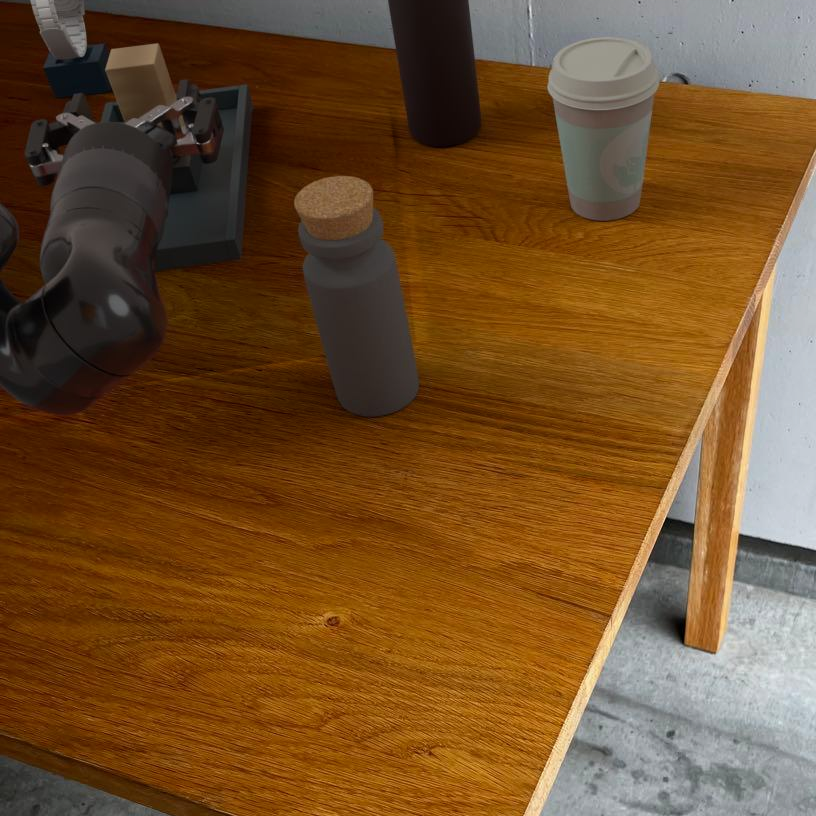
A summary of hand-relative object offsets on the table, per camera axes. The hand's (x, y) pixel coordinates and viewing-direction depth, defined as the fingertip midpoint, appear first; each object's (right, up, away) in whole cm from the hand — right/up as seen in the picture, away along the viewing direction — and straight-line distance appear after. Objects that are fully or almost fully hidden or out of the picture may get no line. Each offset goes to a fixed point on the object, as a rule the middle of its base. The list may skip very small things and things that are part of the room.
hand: (136, 97), depth 86 cm
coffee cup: (+39, -8, +2) cm, 40 cm away
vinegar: (+24, +2, +12) cm, 27 cm away
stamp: (0, -3, +9) cm, 9 cm away
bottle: (+22, -26, -13) cm, 36 cm away
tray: (0, -5, +8) cm, 9 cm away
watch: (-14, +11, +23) cm, 29 cm away
